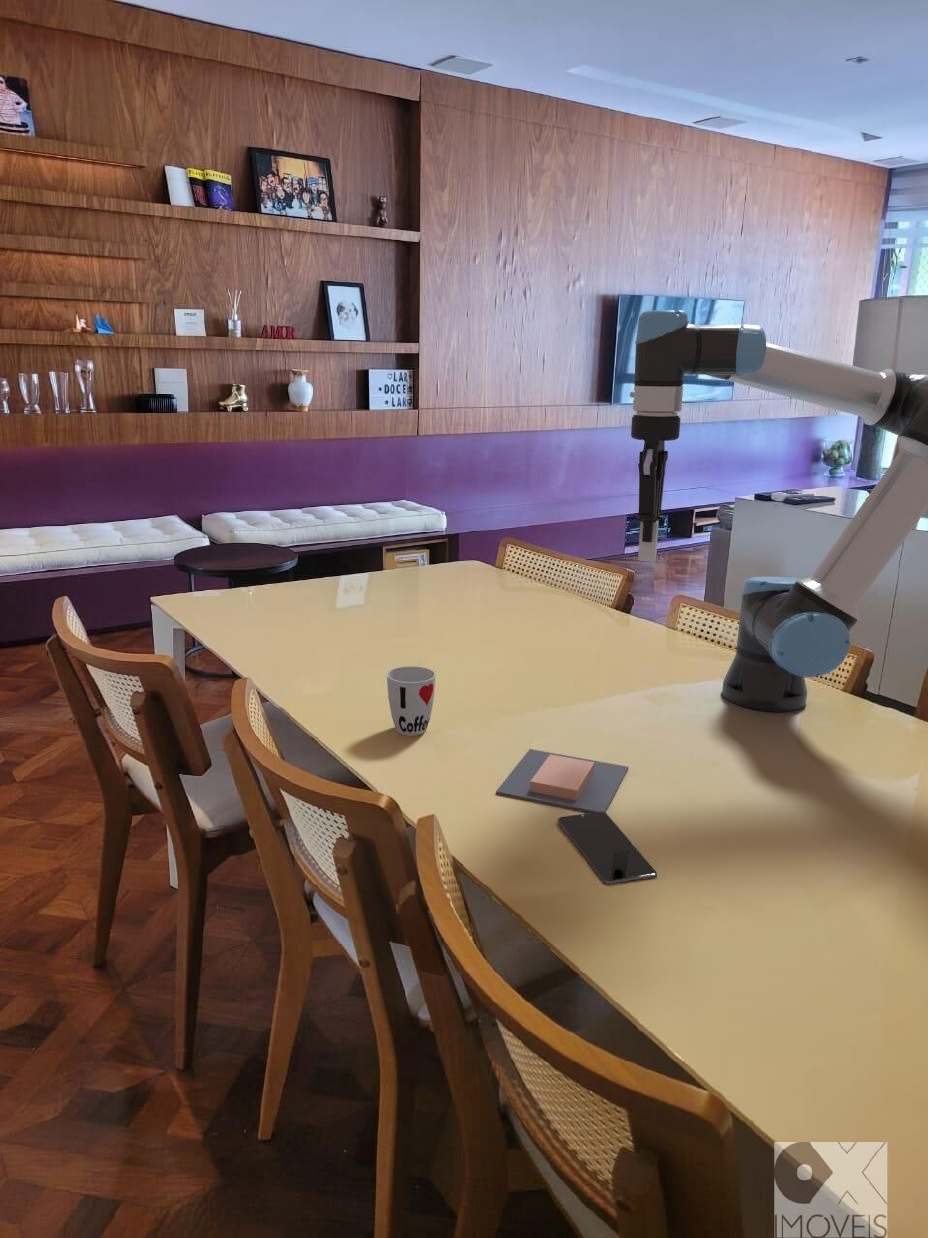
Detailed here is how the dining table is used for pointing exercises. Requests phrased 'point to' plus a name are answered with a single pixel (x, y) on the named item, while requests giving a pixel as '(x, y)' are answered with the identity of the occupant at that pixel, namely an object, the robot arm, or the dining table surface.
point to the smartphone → (606, 848)
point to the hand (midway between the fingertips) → (647, 560)
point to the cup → (411, 698)
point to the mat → (590, 800)
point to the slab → (562, 777)
